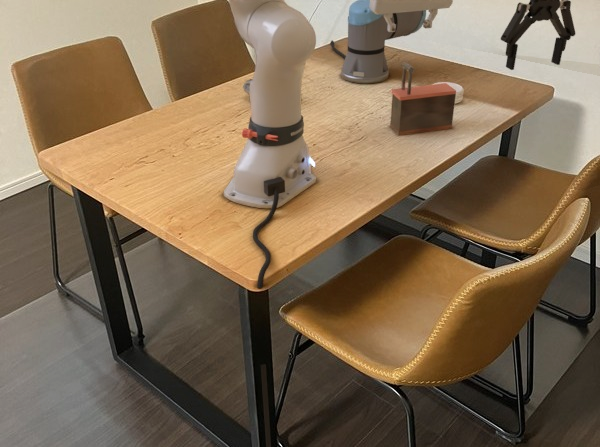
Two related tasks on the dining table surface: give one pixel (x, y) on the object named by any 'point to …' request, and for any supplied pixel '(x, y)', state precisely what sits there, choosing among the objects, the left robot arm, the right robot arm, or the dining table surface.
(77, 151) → the dining table surface
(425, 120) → the chest
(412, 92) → the lid
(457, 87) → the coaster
